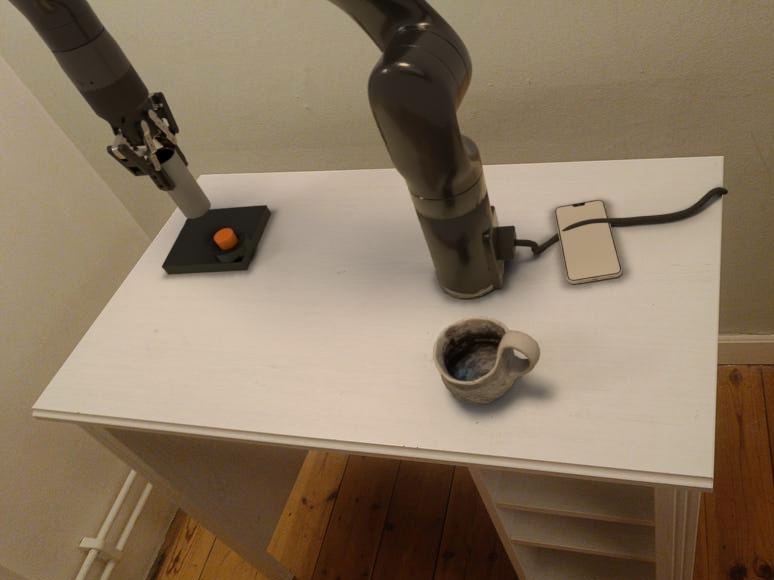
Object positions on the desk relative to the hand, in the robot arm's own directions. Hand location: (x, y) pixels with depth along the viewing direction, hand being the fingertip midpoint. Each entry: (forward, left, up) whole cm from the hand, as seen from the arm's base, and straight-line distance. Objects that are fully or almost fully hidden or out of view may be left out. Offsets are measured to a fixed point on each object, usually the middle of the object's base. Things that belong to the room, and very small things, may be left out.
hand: (175, 177), depth 93 cm
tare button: (-7, +6, -8) cm, 12 cm away
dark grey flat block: (-2, +3, -11) cm, 12 cm away
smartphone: (-61, +7, -11) cm, 63 cm away
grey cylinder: (0, 0, -7) cm, 7 cm away
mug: (-50, +30, -11) cm, 60 cm away
